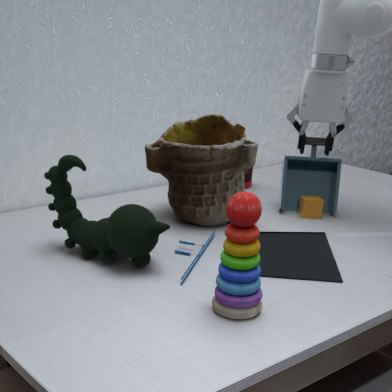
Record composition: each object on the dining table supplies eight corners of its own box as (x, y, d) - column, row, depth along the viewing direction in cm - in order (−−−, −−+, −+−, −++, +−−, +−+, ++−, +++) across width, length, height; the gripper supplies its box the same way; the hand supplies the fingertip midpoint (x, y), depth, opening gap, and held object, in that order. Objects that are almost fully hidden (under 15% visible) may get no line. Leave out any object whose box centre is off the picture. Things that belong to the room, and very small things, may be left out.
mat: (319, 220, 119) (319, 218, 119) (342, 282, 91) (343, 281, 90) (243, 214, 120) (243, 213, 120) (243, 275, 91) (243, 273, 91)
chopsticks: (153, 272, 87) (181, 277, 86) (191, 225, 107) (215, 229, 107) (152, 279, 88) (181, 285, 87) (191, 232, 108) (214, 236, 107)
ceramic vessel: (183, 209, 95) (151, 83, 96) (150, 248, 118) (124, 146, 118) (284, 196, 103) (254, 80, 104) (235, 235, 126) (211, 140, 127)
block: (319, 196, 120) (323, 200, 116) (316, 215, 122) (320, 220, 118) (300, 195, 119) (304, 199, 115) (297, 214, 122) (301, 219, 118)
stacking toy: (221, 293, 85) (230, 180, 75) (267, 304, 82) (282, 188, 72) (204, 314, 79) (211, 194, 68) (252, 326, 76) (267, 203, 66)
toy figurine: (48, 261, 96) (159, 281, 86) (27, 158, 87) (150, 166, 76) (79, 246, 104) (185, 263, 93) (63, 148, 94) (180, 155, 84)
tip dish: (339, 146, 121) (345, 137, 115) (332, 215, 122) (338, 210, 116) (284, 142, 122) (287, 134, 116) (278, 211, 123) (280, 206, 117)
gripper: (365, 65, 109) (348, 152, 120) (287, 60, 110) (276, 147, 120) (372, 67, 103) (353, 159, 113) (289, 62, 104) (277, 154, 114)
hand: (313, 152), depth 117 cm, fingers closed on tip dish, 5 cm apart
